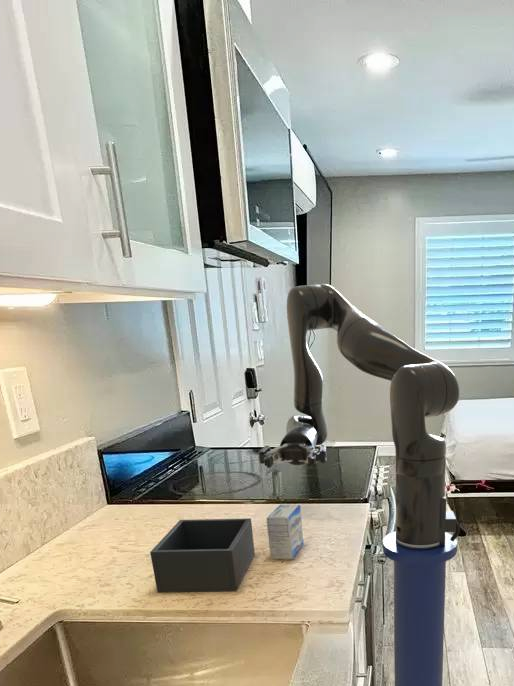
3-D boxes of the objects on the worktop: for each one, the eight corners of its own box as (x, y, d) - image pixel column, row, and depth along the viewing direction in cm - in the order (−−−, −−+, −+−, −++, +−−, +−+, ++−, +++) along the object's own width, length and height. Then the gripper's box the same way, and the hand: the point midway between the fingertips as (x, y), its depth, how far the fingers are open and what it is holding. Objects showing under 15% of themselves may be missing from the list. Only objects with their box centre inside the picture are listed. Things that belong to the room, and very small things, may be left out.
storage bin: (254, 554, 111) (250, 518, 108) (236, 591, 97) (231, 550, 94) (185, 556, 111) (180, 519, 109) (157, 593, 97) (149, 552, 94)
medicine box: (292, 560, 108) (288, 517, 105) (270, 559, 109) (265, 516, 106) (304, 544, 115) (301, 504, 112) (282, 543, 116) (279, 503, 113)
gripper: (266, 429, 131) (252, 445, 116) (328, 428, 130) (322, 444, 115) (269, 461, 133) (256, 481, 118) (330, 460, 133) (324, 480, 118)
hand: (289, 462), depth 117 cm, fingers open, 8 cm apart
